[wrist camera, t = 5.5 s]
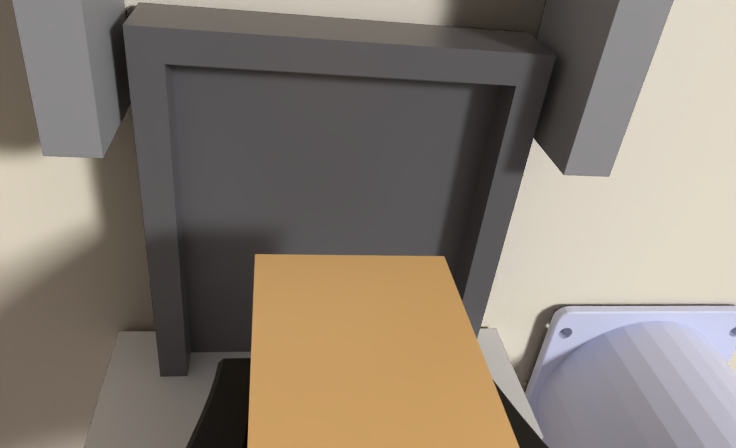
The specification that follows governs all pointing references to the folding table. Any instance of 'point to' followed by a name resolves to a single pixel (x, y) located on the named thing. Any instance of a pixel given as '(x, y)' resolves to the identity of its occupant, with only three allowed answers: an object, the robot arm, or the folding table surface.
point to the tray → (307, 178)
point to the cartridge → (367, 357)
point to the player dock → (556, 32)
